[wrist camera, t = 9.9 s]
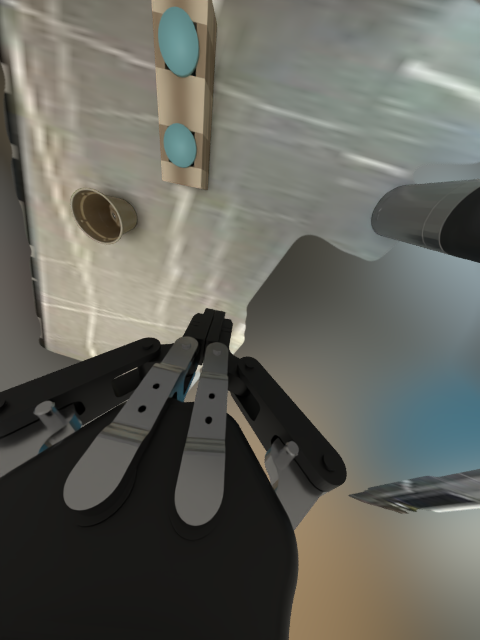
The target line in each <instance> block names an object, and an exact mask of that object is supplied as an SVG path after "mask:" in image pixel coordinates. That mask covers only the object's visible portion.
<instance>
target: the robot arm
mask: <svg viewBox="0 0 480 640" xmlns="http://www.w3.org/2000/svg"><path fill="white" fill-rule="evenodd" d="M372 227H373V229H374V231H375V232H376V233H377V234H379V235H381V236H385V237H388V238H392V239H395V240H399V241H402V242H406V243H409V244H413V245H416V246H420V247H424V248H427V249H430V250H434V251H438V252H441V253H445V254H448V255H452V256H456V257H459V258H463V259H467V260H471V261H474V262H478V263H480V179H473V180H462V181H450V182H438V183H427V184H415V185H404V186H400V187H397V188H395V189H393V190H391V191H390V192H389V193H387V194H386V195H385V196H384V197H383V198H382V199H381V200H380V201H379V203H378V204H377V206H376V208H375V210H374V212H373V215H372ZM232 326H233V323H232V321H231V320H230V319H225V312H223V311H218V310H213V309H208V308H206V309H205V312H204V314H200V313H197V314H196V315H194V316H193V318H192V320H191V322H190V324H189V326H188V328H187V329H186V331H185V333H184V335H183V337H181V338H179V339H177V340H176V341H175V343H173V344H161V345H160V342H159V340H157V339H155V338H143V339H140V340H138V341H135V342H132V343H130V344H127V345H124V346H122V347H119V348H116V349H114V350H111V351H108V352H106V353H103V354H100V355H98V356H95V357H93V358H90V359H87V360H85V361H82V362H79V363H77V364H74V365H71V366H69V367H66V368H64V369H61V370H58V371H56V372H53V373H50V374H47V375H45V376H42V377H40V378H37V379H34V380H32V381H29V382H26V383H24V384H21V385H19V386H16V387H13V388H10V389H8V390H5V391H3V392H0V640H289V627H290V616H291V609H292V603H293V598H294V594H295V589H296V584H297V577H298V549H297V542H296V537H295V534H294V530H295V529H296V527H297V526H298V525H299V523H300V522H301V521H302V519H303V518H304V517H305V515H306V514H307V513H308V511H309V510H310V509H311V507H312V506H313V505H314V503H315V502H316V501H317V500H318V498H319V497H320V496H322V495H324V494H326V493H327V492H329V491H331V490H333V489H335V488H336V487H338V486H340V485H342V484H343V483H344V482H345V480H346V476H347V475H346V474H347V473H346V467H345V464H344V462H343V460H342V458H341V457H340V455H339V454H338V453H337V451H336V450H335V449H334V448H333V447H332V446H331V445H330V443H329V442H328V441H327V440H326V439H325V438H324V436H323V435H322V434H321V433H320V432H319V431H318V430H317V428H316V427H315V426H314V425H313V424H312V423H311V422H310V420H309V419H308V418H307V417H306V416H305V415H304V413H303V412H302V411H301V410H300V409H299V408H298V407H297V405H296V404H295V403H294V402H293V401H292V400H291V399H290V397H289V396H288V395H287V394H286V393H285V392H284V390H283V389H282V388H281V387H280V386H279V385H278V384H277V382H276V381H275V380H274V379H273V378H272V377H271V376H270V375H269V373H268V372H267V371H266V370H265V369H264V368H263V366H262V365H261V364H260V363H259V362H258V361H257V360H256V359H254V358H252V357H243V358H241V359H239V358H237V357H235V356H234V355H233V354H232V353H231V352H230V350H229V344H230V338H231V332H232ZM203 360H204V361H203ZM202 363H203V367H202V372H201V374H200V379H199V383H198V388H197V393H196V398H195V402H184V399H185V397H186V394H187V392H188V390H189V387H190V385H191V383H192V381H193V378H194V376H195V372H196V370H197V367H198V365H202ZM136 367H138V368H136ZM134 368H136V369H134ZM132 369H134V370H132ZM130 370H132V371H130ZM128 371H130V372H128ZM126 372H128V373H126ZM123 373H126V374H124V375H122V376H120V377H118V378H116V377H117V376H119V375H121V374H123ZM114 378H116V379H114ZM228 391H230V392H231V396H232V397H233V399H234V401H235V402H236V404H237V405H238V407H239V408H240V410H241V412H242V413H243V415H244V416H245V418H246V420H247V421H248V423H249V424H250V426H251V427H252V429H253V431H254V432H255V434H256V435H257V437H258V439H259V440H260V442H261V443H262V445H263V446H264V448H265V450H266V451H267V452H266V455H265V467H266V470H267V472H268V474H269V477H270V481H271V483H270V482H269V480H268V478H267V476H266V474H265V472H264V471H263V469H262V467H261V465H260V463H259V461H258V460H257V458H256V456H255V454H254V452H253V450H252V448H251V447H250V445H249V443H248V441H247V439H246V438H245V436H244V434H243V432H242V430H241V428H240V427H239V425H238V423H237V422H236V421H235V420H234V418H233V417H232V416H230V415H229V414H228V413H226V412H227V393H228ZM127 399H129V400H128V401H126V400H127ZM124 401H126V402H124ZM122 402H124V403H122ZM120 403H122V404H120ZM119 404H120V405H119ZM117 405H118V406H117ZM115 406H116V407H115ZM113 407H115V408H113ZM111 408H113V409H112V410H110V409H111ZM108 410H110V411H108ZM106 411H108V412H107V413H105V412H106ZM103 413H105V414H103ZM101 414H103V415H102V416H100V417H98V416H99V415H101ZM96 417H98V418H97V419H95V420H94V421H92V422H90V423H89V424H87V425H85V426H84V427H82V428H81V426H82V425H84V424H86V423H87V422H89V421H91V420H93V419H94V418H96Z"/></svg>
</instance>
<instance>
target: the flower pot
mask: <svg viewBox="0 0 480 640" xmlns="http://www.w3.org/2000/svg"><path fill="white" fill-rule="evenodd" d="M70 208H71V213H72V215H73V218H74V220H75V222H76V223H77V225H78V226H79V228H80V229H81V230H82V231H83V232H84V233H85V234H86V235H87V236H88V237H90V238H91V239H92V240H94V241H96V242H99V243H101V244H114V243H116V242H117V241H119V239H120V238H121V236H122V235H123V234H124V233H126V232H128V231H129V230H131V229H133V228H134V227H135V225H136V223H137V215H136V213H135V210H134V209H133V207H132V206H131V205H130V204H129V203H128V202H126V201H125V200H123V199H119V198H115V197H110V196H106V195H104V194H102V193H101V192H99V191H97V190H94V189H91V188H80V189H78V190H76V191H75V192H74V193H73V195H72V196H71V200H70ZM113 213H114V215H115V218H114V216H113Z"/></svg>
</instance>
